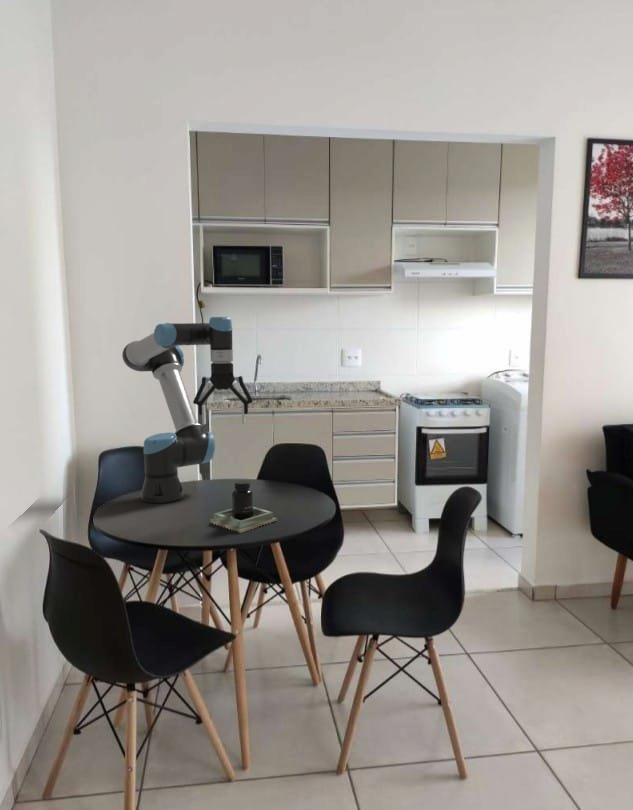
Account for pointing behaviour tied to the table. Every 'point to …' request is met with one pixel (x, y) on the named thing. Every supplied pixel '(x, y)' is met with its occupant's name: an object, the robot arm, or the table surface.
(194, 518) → the table surface
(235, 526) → the green square tray
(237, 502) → the supplement bottle
